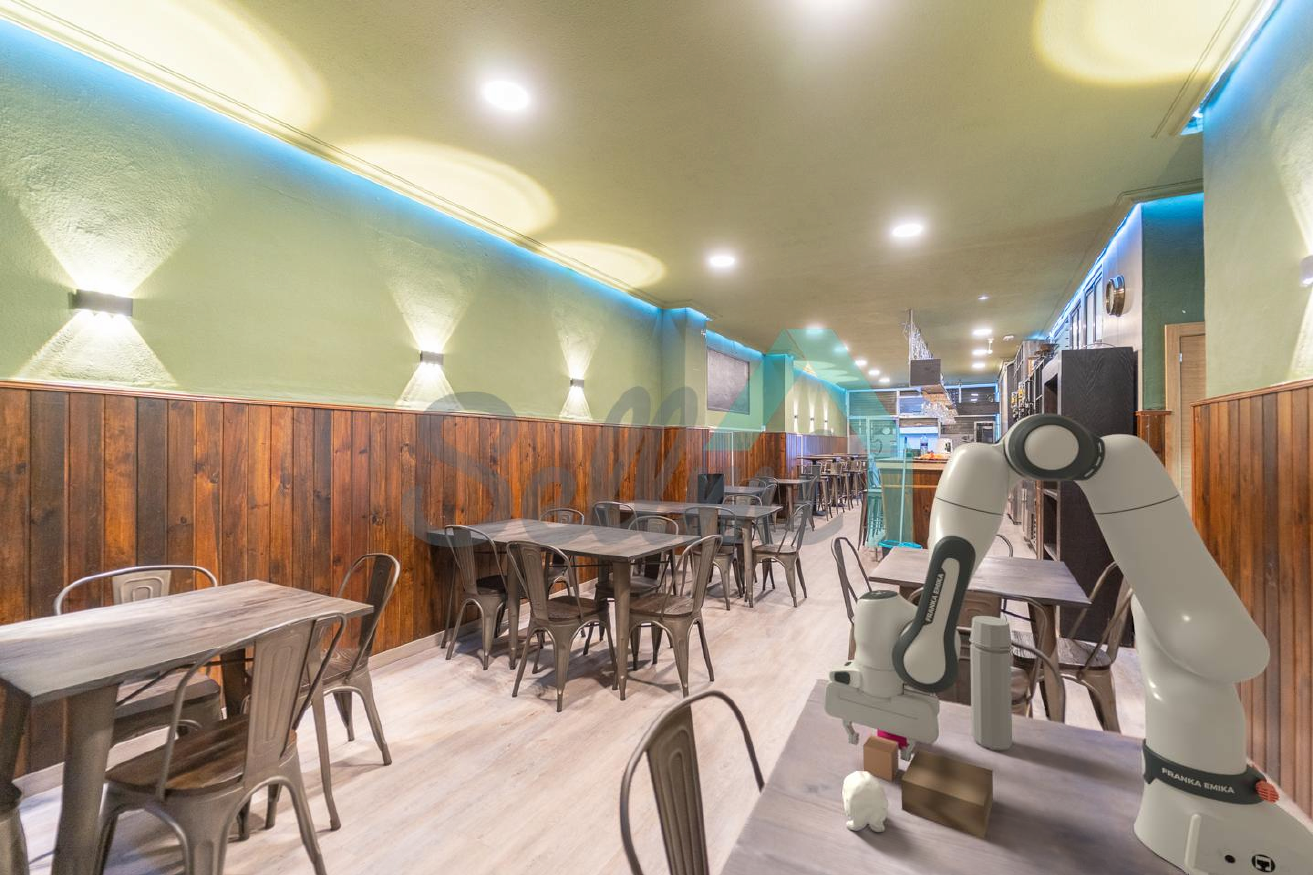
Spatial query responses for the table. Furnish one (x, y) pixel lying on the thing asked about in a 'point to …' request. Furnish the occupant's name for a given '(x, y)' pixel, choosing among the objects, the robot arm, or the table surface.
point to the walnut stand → (948, 792)
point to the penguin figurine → (864, 801)
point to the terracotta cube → (881, 757)
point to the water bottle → (991, 682)
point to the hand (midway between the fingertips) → (879, 750)
